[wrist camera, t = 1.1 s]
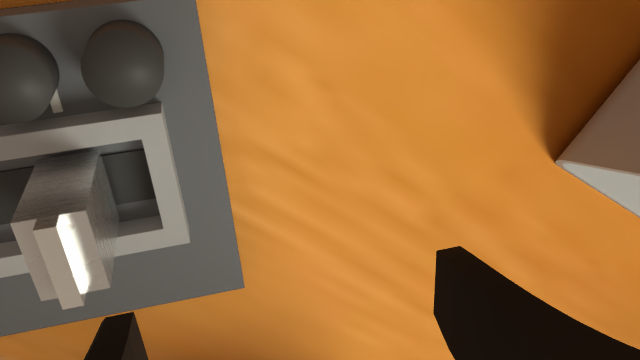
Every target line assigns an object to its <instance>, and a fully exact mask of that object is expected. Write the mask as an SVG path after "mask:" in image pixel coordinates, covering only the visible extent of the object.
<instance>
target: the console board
mask: <svg viewBox="0 0 640 360" xmlns="http://www.w3.org/2000/svg"><path fill="white" fill-rule="evenodd" d="M94 150H100V152H101V156H102V159H103V163H104V166H105V170H106V173H107V177H108V180H109V184H110V187H111V191H112V194H113V198H114V201H115V204H116V208H117V211H118V215H119V218H120V219H119V226H118V234H117V241H116V249H115V256H114V264H113V271H112V279H111V287H110V288H108V289H102V290H97V291H92V292H87V293H86V298H85V303H84V306H79V307H74V308H69V309H64V310H63V309H62V307H61V304H60V302H59V299H58V298H56V299H51V300H45V301H41V300H40V297H39V295H38V292H37V290H36V287H35V285H34V282H33V280H32V277H31V275H30V272H29V270H28V267H27V265H26V262H25V260H24V257H23V255H22V252H21V250H20V247H19V245H18V242H17V240H16V237H15V235H14V232H13V230H12V227H11V225H10V222H11V220H12V218H13V215H14V213H15V211H16V208H17V206H18V204H19V201H20V199H21V197H22V194H23V192H24V190H25V187H26V185H27V183H28V180H29V178H30V176H31V174H32V171H33V169H34V167H35V164H36V162H37V160H38V159H42V158H49V157H55V156H62V155H68V154H74V153H81V152H87V151H94ZM241 288H245V287H244V281H243V275H242V269H241V263H240V257H239V251H238V246H237V240H236V234H235V228H234V222H233V216H232V211H231V205H230V199H229V193H228V187H227V181H226V176H225V170H224V164H223V158H222V152H221V146H220V141H219V135H218V129H217V123H216V117H215V111H214V105H213V100H212V94H211V88H210V82H209V76H208V70H207V65H206V59H205V53H204V47H203V41H202V35H201V30H200V24H199V18H198V12H197V6H196V0H75V1H67V2H58V3H49V4H41V5H32V6H23V7H14V8H6V9H0V337H1V336H6V335H11V334H16V333H21V332H26V331H31V330H36V329H41V328H46V327H51V326H56V325H61V324H66V323H71V322H76V321H81V320H86V319H91V318H96V317H101V316H106V315H111V314H116V313H121V312H126V311H131V310H136V309H141V308H146V307H151V306H156V305H161V304H166V303H171V302H176V301H181V300H186V299H191V298H196V297H201V296H206V295H211V294H216V293H221V292H226V291H231V290H236V289H241Z"/></svg>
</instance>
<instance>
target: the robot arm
mask: <svg viewBox="0 0 640 360" xmlns="http://www.w3.org/2000/svg"><path fill="white" fill-rule="evenodd" d="M434 316H435V318H436V320H437V323H438V325H439V327H440V330H441V332H442V334H443V337H444V339H445V341H446V343H447V346H448V348H449V350H450V352H451V353H452V355H453V357H454V359H455V360H640V350H639V349H636V348H634V347H631V346H629V345H627V344H624V343H622V342H620V341H618V340H615V339H613V338H611V337H609V336H607V335H605V334H603V333H601V332H599V331H597V330H595V329H593V328H591V327H589V326H587V325H584V324H583V323H581V322H579V321H577V320H575V319H573V318H571V317H569V316H568V315H566V314H564V313H562V312H561V311H559V310H557V309H556V308H554V307H552V306H550V305H549V304H547V303H545V302H544V301H542V300H540V299H539V298H537V297H535V296H534V295H532V294H531V293H529V292H527V291H526V290H524V289H523V288H521V287H520V286H518V285H517V284H515V283H514V282H512V281H511V280H509V279H508V278H506V277H505V276H503V275H502V274H500V273H499V272H497V271H496V270H494V269H493V268H491V267H490V266H489V265H487V264H486V263H484V262H483V261H481V260H480V259H478V258H477V257H476V256H474V255H473V254H471V253H470V252H468V251H467V250H465V249H464V248H462V247H461V246H458V247H453V248H448V249H443V250H438V251H437V253H436V274H435V295H434ZM84 360H148V357H147V354H146V350H145V347H144V344H143V341H142V337H141V334H140V331H139V328H138V324H137V321H136V318H135V314H134V312H131V313H126V314H121V315H116V316H111V317H106V318H105V319H104V320H103V322H102V323H101V325H100V327H99V330H98V332H97V334H96V336H95V338H94V340H93V342H92V344H91V346H90V348H89V350H88V352H87V354H86V356H85V358H84Z"/></svg>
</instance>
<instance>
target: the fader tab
mask: <svg viewBox="0 0 640 360" xmlns="http://www.w3.org/2000/svg"><path fill="white" fill-rule="evenodd" d="M119 219H120V218H119V215H118V211H117V208H116V204H115V201H114V198H113V194H112V191H111V187H110V184H109V180H108V177H107V173H106V170H105V166H104V163H103V159H102V156H101V152H100V150H94V151H87V152H81V153H74V154H68V155H62V156H55V157H49V158H42V159H38V160H37V162H36V164H35V167H34V169H33V171H32V174H31V176H30V178H29V180H28V183H27V185H26V187H25V190H24V192H23V194H22V197H21V199H20V201H19V204H18V206H17V208H16V211H15V213H14V215H13V218H12V220H11V222H10V225H11V227H12V230H13V232H14V235H15V237H16V240H17V242H18V245H19V247H20V250H21V252H22V255H23V257H24V260H25V262H26V265H27V267H28V270H29V272H30V275H31V277H32V280H33V282H34V285H35V287H36V290H37V292H38V295H39V297H40V300H41V301H45V300H51V299H56V298H58V299H59V302H60V304H61V307H62V309H63V310H64V309H69V308H74V307H79V306H84V303H85V298H86V293H87V292H92V291H97V290H102V289H108V288H110V287H111V279H112V271H113V264H114V256H115V249H116V241H117V234H118V226H119Z"/></svg>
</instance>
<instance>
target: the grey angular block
mask: <svg viewBox="0 0 640 360" xmlns="http://www.w3.org/2000/svg"><path fill="white" fill-rule="evenodd" d="M555 163H556V165H557V166H559V167H561V168H562V169H564V170H565V171H567V172H568V173H570V174H572V175H573V176H575V177H576V178H578V179H579V180H581V181H583V182H584V183H586V184H587V185H589V186H590V187H592V188H594V189H595V190H597V191H598V192H600V193H601V194H603V195H605V196H606V197H608V198H609V199H611V200H613V201H614V202H616V203H617V204H619V205H620V206H622V207H624V208H625V209H627V210H628V211H630V212H631V213H633V214H635V215H636V216H638V217H639V218H640V59H639V61H638V62H637V63H636V64H635V65H634V67H633V68H632V69H631V70H630V71H629V73H628V74H627V75H626V76H625V78H624V79H623V80H622V81H621V82H620V84H619V85H618V86H617V87H616V88H615V90H614V91H613V92H612V93H611V95H610V96H609V97H608V98H607V99H606V101H605V102H604V103H603V104H602V105H601V107H600V108H599V109H598V110H597V112H596V113H595V114H594V115H593V116H592V118H591V119H590V120H589V121H588V123H587V124H586V125H585V126H584V127H583V129H582V130H581V131H580V132H579V133H578V135H577V136H576V137H575V138H574V140H573V141H572V142H571V143H570V144H569V146H568V147H567V148H566V149H565V150H564V152H563V153H562V154H561V155H560V157H559V158H558V159H557V160H556V161H555Z"/></svg>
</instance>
